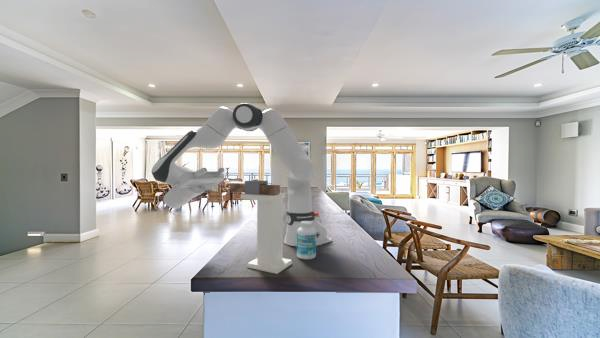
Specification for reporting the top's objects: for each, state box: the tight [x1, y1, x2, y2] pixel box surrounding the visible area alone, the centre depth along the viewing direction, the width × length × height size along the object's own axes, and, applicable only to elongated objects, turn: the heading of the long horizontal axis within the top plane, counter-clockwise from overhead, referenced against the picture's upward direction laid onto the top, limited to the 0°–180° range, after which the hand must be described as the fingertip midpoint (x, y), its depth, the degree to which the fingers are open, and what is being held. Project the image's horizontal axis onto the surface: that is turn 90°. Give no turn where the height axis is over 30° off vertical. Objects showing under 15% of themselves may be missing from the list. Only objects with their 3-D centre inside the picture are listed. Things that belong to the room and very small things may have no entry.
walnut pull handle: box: [229, 182, 281, 195], centre depth 98 cm, size 20×3×3 cm, turn 63°
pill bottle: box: [296, 221, 317, 260], centre depth 105 cm, size 8×7×14 cm
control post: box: [240, 179, 293, 275], centre depth 96 cm, size 15×10×30 cm, turn 63°
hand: (214, 169), depth 107 cm, fingers open, 8 cm apart
